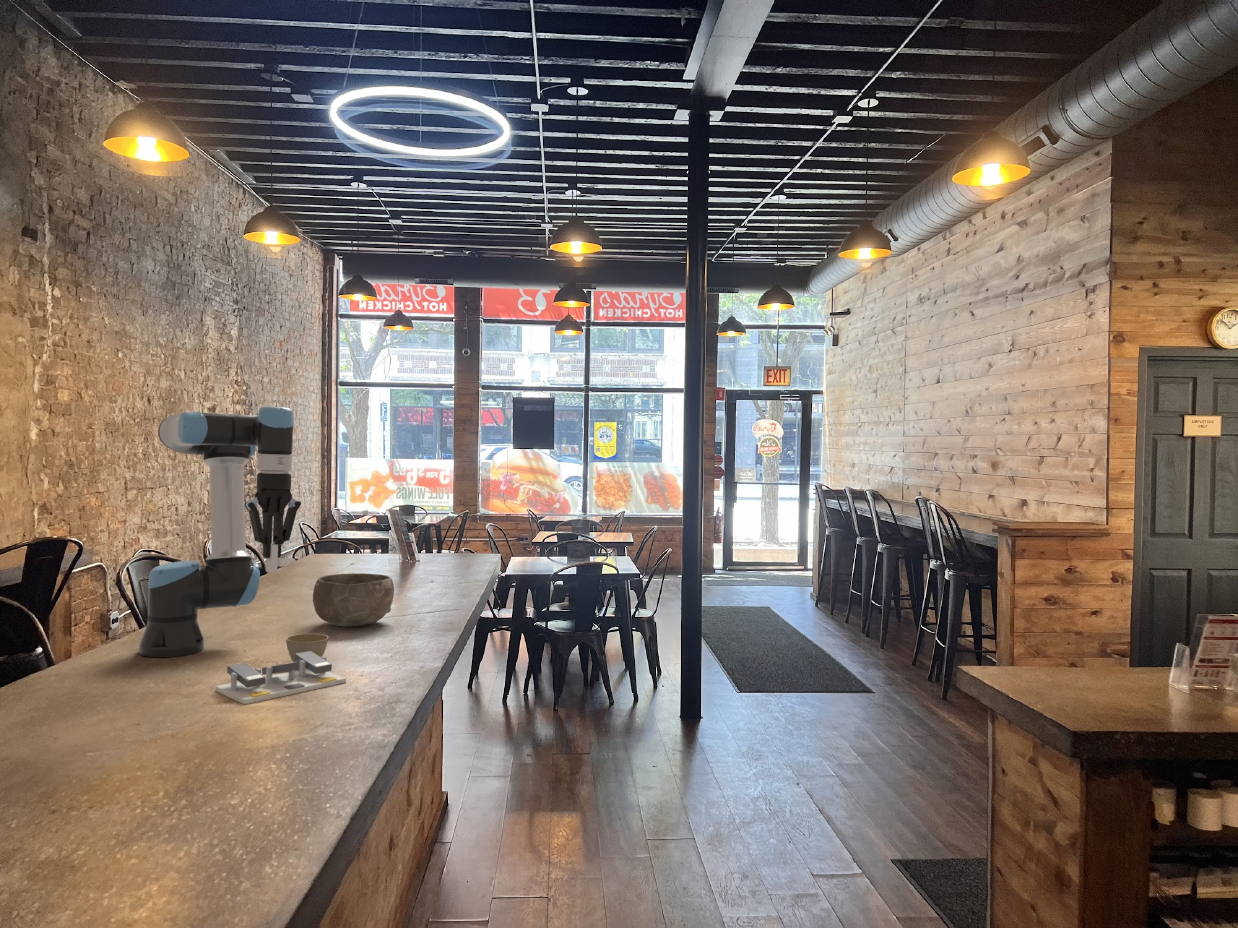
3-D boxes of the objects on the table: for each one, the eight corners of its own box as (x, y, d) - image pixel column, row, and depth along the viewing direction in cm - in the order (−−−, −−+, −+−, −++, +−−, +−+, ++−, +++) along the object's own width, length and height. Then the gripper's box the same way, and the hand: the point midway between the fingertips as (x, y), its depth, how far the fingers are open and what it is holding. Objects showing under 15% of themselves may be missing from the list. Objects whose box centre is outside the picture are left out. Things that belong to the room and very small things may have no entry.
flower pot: (313, 672, 198) (313, 643, 198) (276, 668, 200) (277, 640, 200) (335, 662, 207) (336, 634, 207) (300, 659, 209) (301, 631, 209)
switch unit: (215, 690, 181) (216, 669, 181) (315, 670, 199) (315, 651, 199) (244, 704, 172) (244, 681, 171) (345, 682, 190) (346, 662, 190)
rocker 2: (261, 674, 187) (260, 667, 187) (279, 671, 190) (279, 664, 191) (282, 671, 181) (281, 664, 181) (300, 668, 184) (299, 660, 184)
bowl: (409, 624, 255) (411, 577, 255) (347, 637, 235) (348, 586, 235) (359, 614, 268) (360, 569, 268) (295, 626, 248) (296, 577, 247)
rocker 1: (226, 672, 181) (226, 665, 181) (245, 668, 185) (246, 661, 184) (246, 687, 175) (246, 680, 175) (265, 683, 178) (266, 676, 178)
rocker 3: (293, 660, 194) (294, 653, 193) (310, 656, 197) (311, 650, 197) (314, 674, 187) (315, 667, 187) (332, 670, 190) (332, 663, 190)
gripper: (254, 473, 182) (251, 576, 183) (308, 473, 192) (305, 571, 193) (239, 471, 187) (236, 571, 188) (293, 471, 197) (290, 567, 198)
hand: (271, 571), depth 190 cm, fingers closed
